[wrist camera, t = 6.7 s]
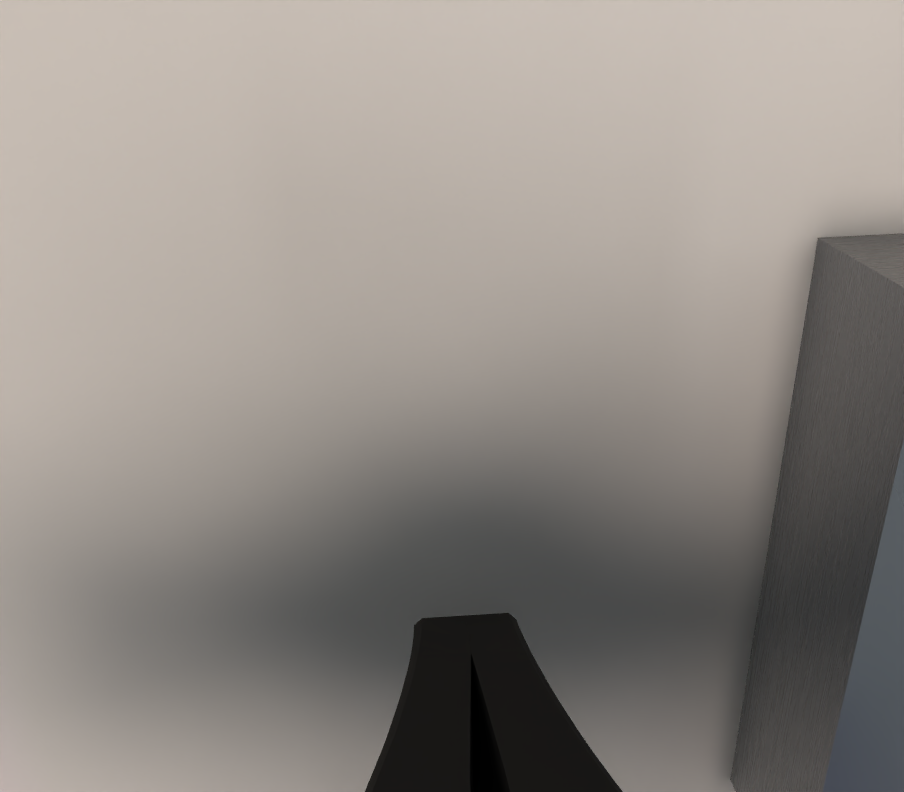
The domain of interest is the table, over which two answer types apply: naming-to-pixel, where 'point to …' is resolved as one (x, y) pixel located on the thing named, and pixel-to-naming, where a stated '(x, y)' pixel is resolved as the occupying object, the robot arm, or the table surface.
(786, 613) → the steel slab
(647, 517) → the table surface
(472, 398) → the table surface
